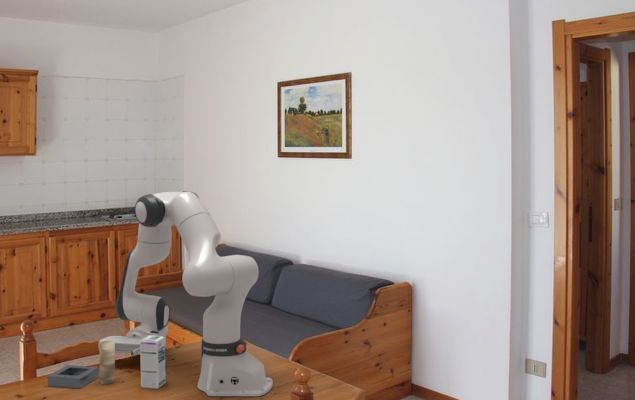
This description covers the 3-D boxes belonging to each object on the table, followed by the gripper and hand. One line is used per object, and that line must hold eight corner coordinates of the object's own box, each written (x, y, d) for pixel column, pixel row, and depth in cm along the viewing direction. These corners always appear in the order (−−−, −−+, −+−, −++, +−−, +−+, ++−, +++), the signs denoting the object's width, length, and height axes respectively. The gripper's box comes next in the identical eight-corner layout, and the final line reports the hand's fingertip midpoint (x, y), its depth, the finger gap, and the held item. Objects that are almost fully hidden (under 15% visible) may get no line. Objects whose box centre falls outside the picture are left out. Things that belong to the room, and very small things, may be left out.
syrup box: (158, 389, 186) (158, 340, 185) (139, 387, 187) (139, 339, 186) (166, 382, 191) (166, 335, 190) (148, 381, 192) (148, 334, 192)
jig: (98, 376, 196) (98, 367, 196) (80, 388, 185) (80, 378, 185) (67, 374, 198) (67, 365, 197) (47, 386, 187) (47, 376, 187)
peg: (117, 379, 193) (117, 341, 193) (110, 384, 189) (110, 345, 188) (104, 378, 194) (104, 340, 194) (97, 383, 190) (96, 344, 189)
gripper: (110, 329, 213) (88, 340, 200) (167, 332, 210) (148, 344, 196) (110, 347, 214) (88, 360, 200) (167, 351, 210) (148, 364, 196)
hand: (118, 352), depth 198 cm, fingers open, 8 cm apart
